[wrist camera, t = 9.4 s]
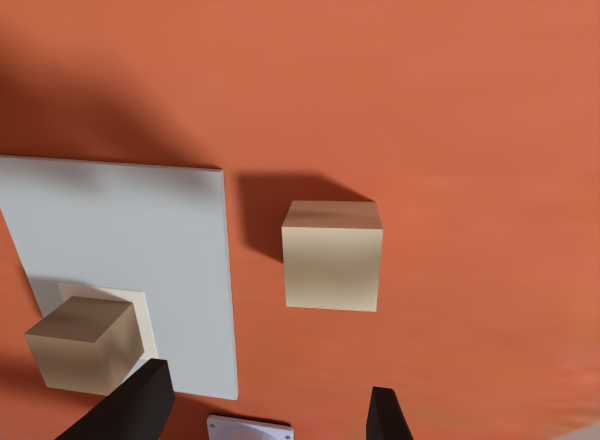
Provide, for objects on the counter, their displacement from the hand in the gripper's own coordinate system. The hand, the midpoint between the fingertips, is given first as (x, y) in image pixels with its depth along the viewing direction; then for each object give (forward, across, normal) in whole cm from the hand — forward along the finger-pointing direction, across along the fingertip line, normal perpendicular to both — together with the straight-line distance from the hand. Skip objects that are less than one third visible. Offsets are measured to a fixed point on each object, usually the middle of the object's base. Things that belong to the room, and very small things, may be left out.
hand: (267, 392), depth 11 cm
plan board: (+10, +13, +5) cm, 18 cm away
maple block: (+11, -2, -1) cm, 11 cm away
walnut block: (+10, +15, +8) cm, 20 cm away
